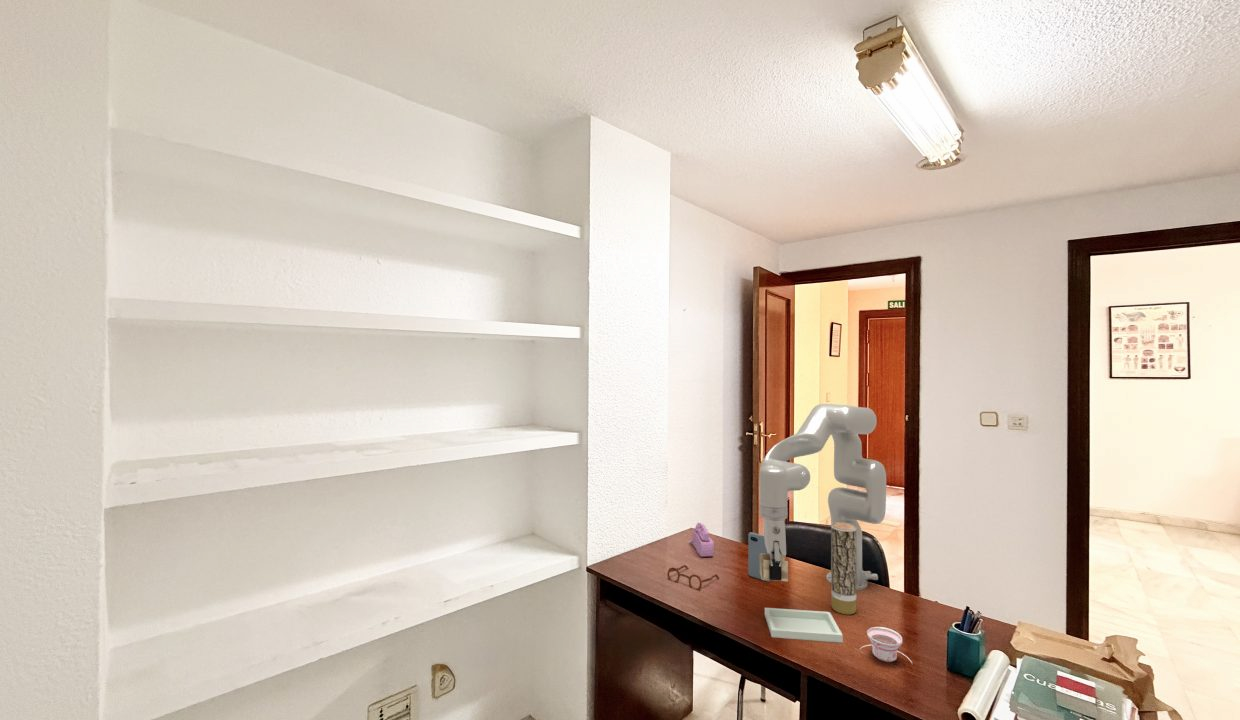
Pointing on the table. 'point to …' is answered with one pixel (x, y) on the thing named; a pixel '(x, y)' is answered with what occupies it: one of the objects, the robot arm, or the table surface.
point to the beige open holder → (765, 567)
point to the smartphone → (755, 554)
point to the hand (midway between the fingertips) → (773, 574)
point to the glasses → (689, 577)
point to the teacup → (884, 643)
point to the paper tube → (843, 568)
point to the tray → (803, 625)
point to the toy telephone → (702, 541)
